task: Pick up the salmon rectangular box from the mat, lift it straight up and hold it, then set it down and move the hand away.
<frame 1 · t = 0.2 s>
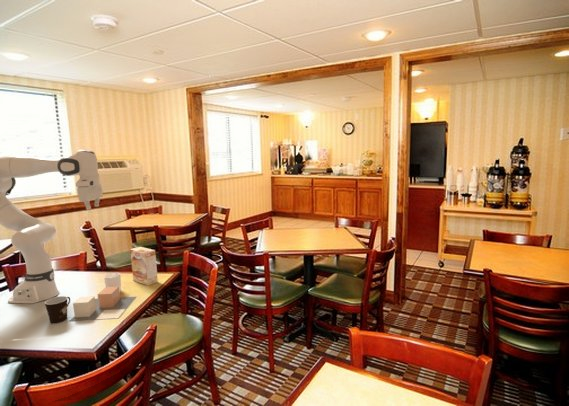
hand: (92, 207, 180), 47 cm above the table, fingers open, 8 cm apart
coffee mug: (62, 319, 158), on the table
marble one: (108, 305, 171), resting on mat
salmon rectangular box: (109, 303, 173), resting on mat
mat: (105, 308, 168), on the table
coffeecake box: (145, 281, 203), on the table
pale beige cube: (84, 306, 162), on the mat
marble two: (111, 301, 175), resting on mat
white cup: (114, 292, 188), on the table
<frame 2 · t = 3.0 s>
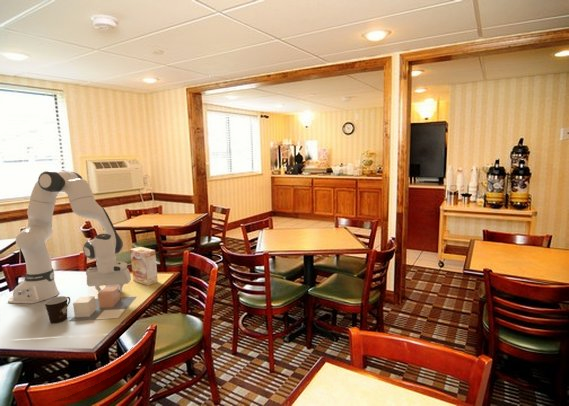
hand: (110, 292, 173), 6 cm above the table, fingers open, 8 cm apart
nothing on the table moved.
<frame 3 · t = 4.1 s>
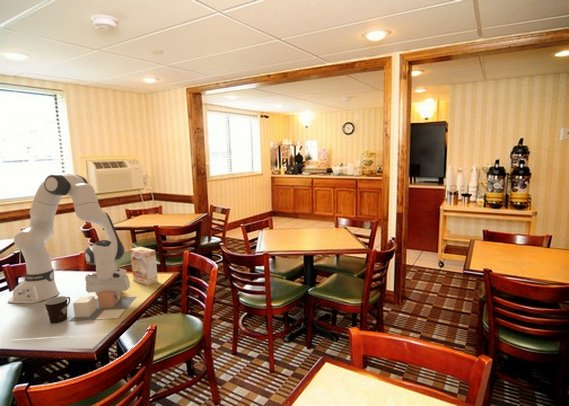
hand: (109, 299, 173), 3 cm above the table, fingers closed on salmon rectangular box, 7 cm apart
salmon rectangular box: (109, 303, 173), resting on mat, touching gripper
everything else where it was.
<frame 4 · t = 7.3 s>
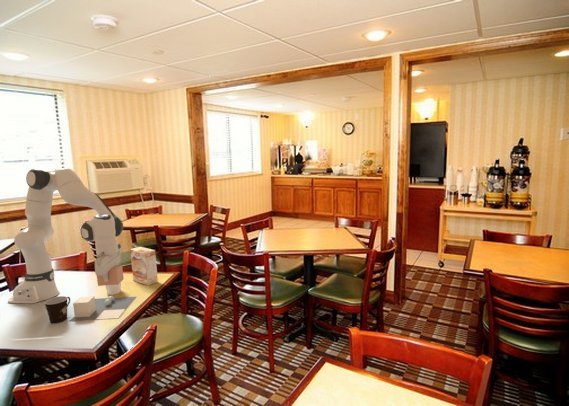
hand: (110, 277, 160), 18 cm above the table, fingers closed on salmon rectangular box, 7 cm apart
salmon rectangular box: (111, 282, 160), point 16 cm above the table, touching gripper
everything else where it was.
when the fingers open (4 cm above the table, at t = 10.8 s): salmon rectangular box drops 1 cm, resting on mat.
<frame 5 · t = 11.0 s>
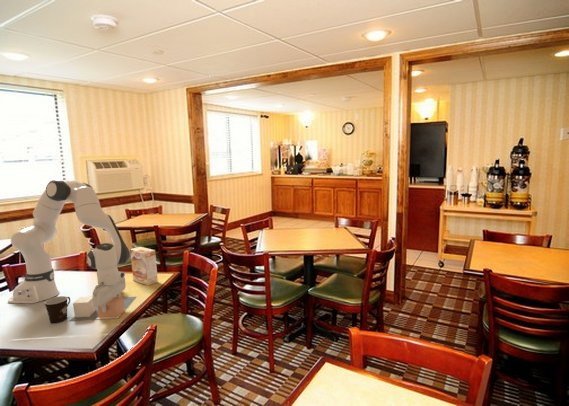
hand: (111, 306, 161), 4 cm above the table, fingers open, 8 cm apart
salmon rectangular box: (112, 313, 162), resting on mat
everything else where it was.
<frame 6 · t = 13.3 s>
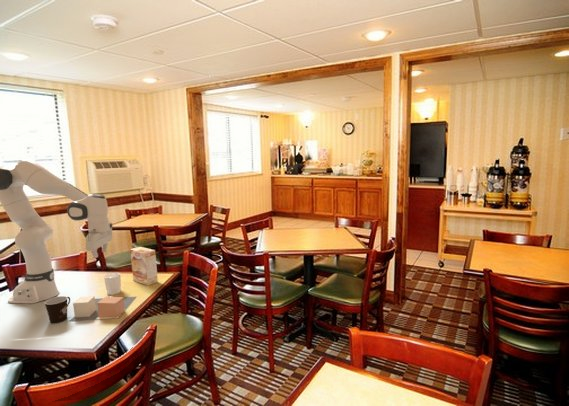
hand: (100, 254, 169), 26 cm above the table, fingers open, 8 cm apart
nothing on the table moved.
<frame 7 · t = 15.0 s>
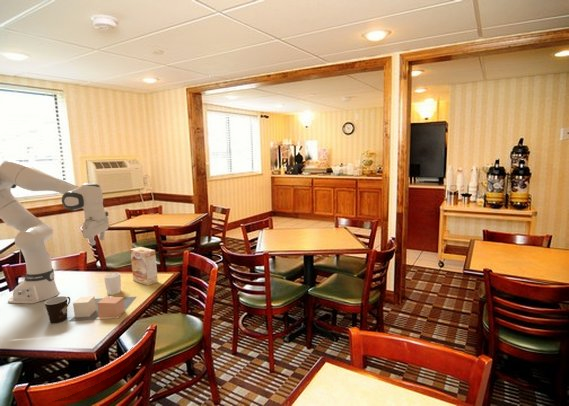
hand: (97, 242, 173), 31 cm above the table, fingers open, 8 cm apart
nothing on the table moved.
at the end: salmon rectangular box inside the target area (0.5 cm from its centre), resting on mat; salmon rectangular box tilted 0°; the gripper is holding nothing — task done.
